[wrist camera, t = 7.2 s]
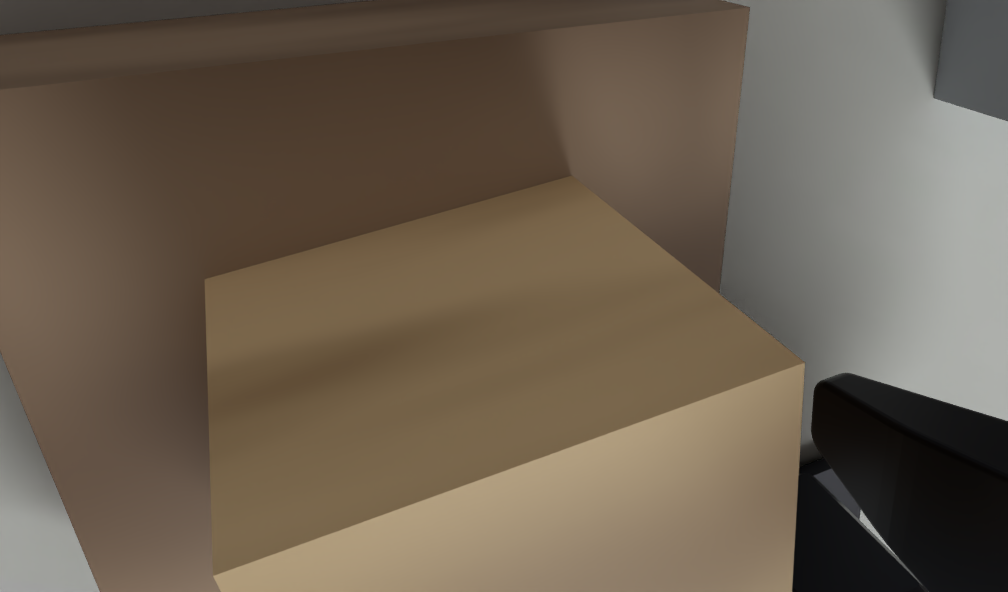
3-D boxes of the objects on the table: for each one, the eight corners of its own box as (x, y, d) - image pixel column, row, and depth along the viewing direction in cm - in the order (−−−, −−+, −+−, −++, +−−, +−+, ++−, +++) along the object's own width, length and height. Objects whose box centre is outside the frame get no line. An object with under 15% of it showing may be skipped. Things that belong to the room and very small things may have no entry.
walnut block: (603, 423, 19) (691, 541, 16) (157, 539, 16) (150, 712, 13) (616, -27, 14) (749, 8, 11) (-18, 32, 11) (-105, 101, 8)
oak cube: (602, 447, 14) (785, 704, 9) (313, 552, 12) (373, 896, 8) (571, 175, 11) (804, 362, 7) (204, 279, 10) (214, 575, 6)
